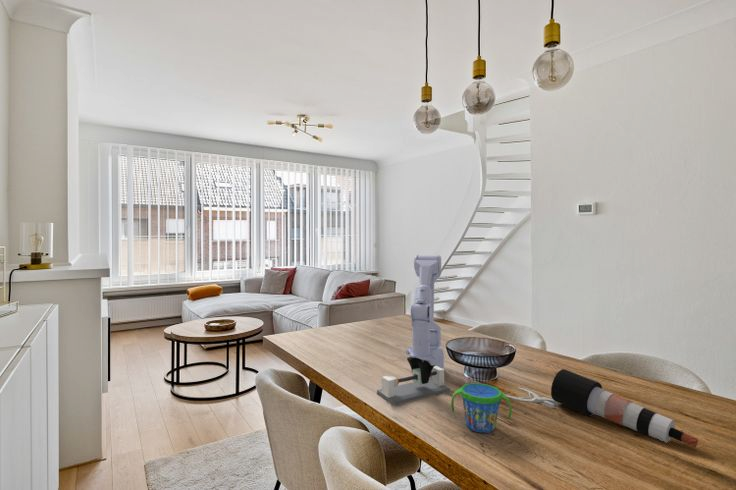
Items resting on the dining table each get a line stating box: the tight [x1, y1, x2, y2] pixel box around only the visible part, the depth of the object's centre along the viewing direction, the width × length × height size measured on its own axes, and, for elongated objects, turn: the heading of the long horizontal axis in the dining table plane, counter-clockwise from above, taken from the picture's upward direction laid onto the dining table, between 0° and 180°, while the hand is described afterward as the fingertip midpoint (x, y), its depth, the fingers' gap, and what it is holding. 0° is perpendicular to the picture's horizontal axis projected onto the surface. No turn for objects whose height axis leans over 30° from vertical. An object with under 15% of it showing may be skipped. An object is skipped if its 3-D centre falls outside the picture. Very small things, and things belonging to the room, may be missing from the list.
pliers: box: [505, 386, 560, 409], centre depth 125 cm, size 10×2×15 cm
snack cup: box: [450, 382, 513, 434], centre depth 107 cm, size 16×10×10 cm
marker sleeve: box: [411, 368, 431, 385], centre depth 132 cm, size 4×4×4 cm
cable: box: [550, 368, 699, 448], centre depth 108 cm, size 10×34×10 cm, turn 35°
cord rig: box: [376, 366, 451, 406], centre depth 130 cm, size 22×10×6 cm, turn 119°
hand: (420, 380), depth 132 cm, fingers closed on marker sleeve, 4 cm apart
